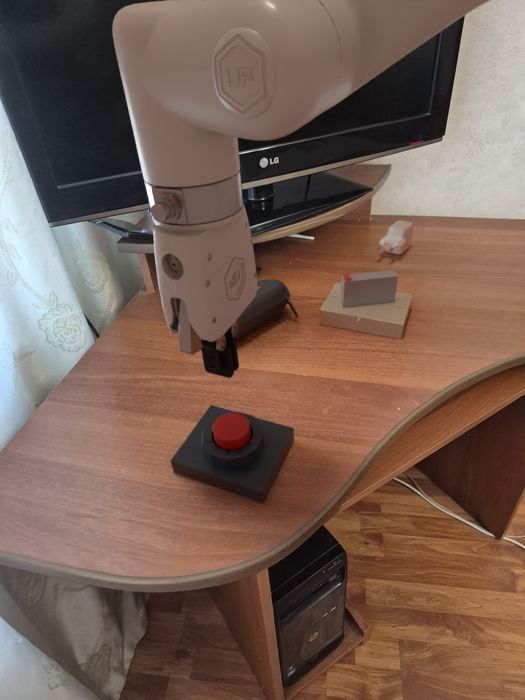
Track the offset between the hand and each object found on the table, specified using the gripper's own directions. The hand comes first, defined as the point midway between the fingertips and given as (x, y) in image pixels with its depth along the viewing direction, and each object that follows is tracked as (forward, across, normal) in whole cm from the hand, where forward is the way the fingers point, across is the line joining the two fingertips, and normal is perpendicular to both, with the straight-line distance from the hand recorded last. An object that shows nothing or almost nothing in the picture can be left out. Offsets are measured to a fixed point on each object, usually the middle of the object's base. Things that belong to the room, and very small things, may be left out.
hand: (222, 369), depth 46 cm
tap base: (+14, +36, -8) cm, 39 cm away
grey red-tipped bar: (+11, +36, -8) cm, 39 cm away
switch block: (+14, 0, 0) cm, 14 cm away
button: (+11, 0, 0) cm, 11 cm away
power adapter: (+14, +62, -8) cm, 64 cm away
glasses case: (+14, +26, +10) cm, 31 cm away
